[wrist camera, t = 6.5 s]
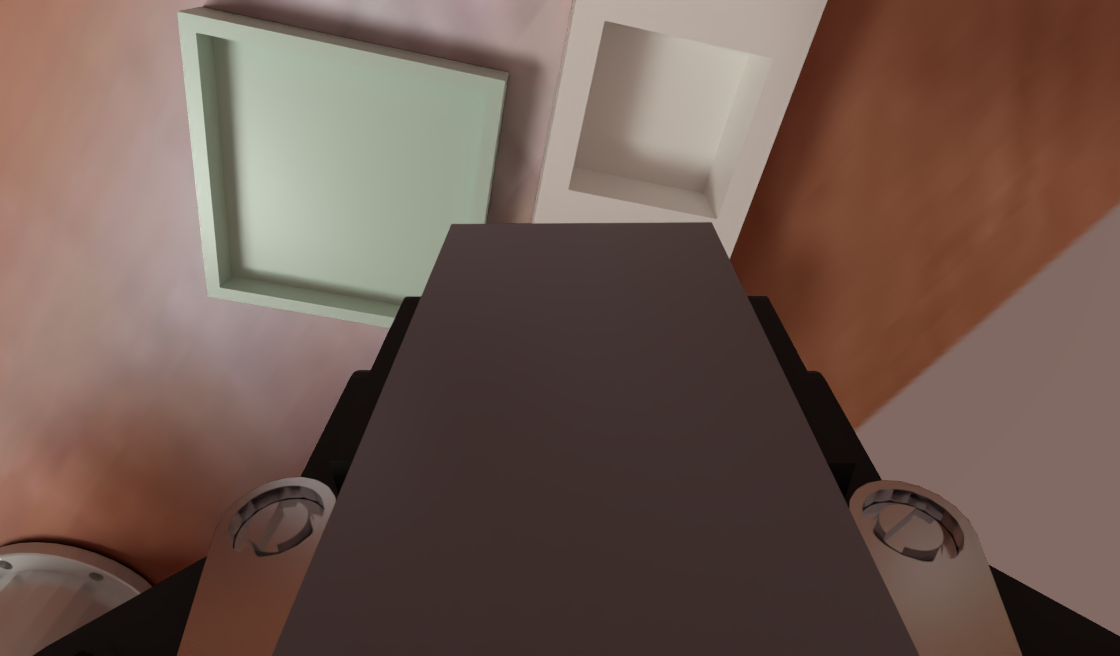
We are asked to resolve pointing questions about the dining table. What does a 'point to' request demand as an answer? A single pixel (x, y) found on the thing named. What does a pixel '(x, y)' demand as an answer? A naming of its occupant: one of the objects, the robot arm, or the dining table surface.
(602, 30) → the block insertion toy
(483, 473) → the plug
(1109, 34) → the dining table surface
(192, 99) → the tray
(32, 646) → the robot arm
